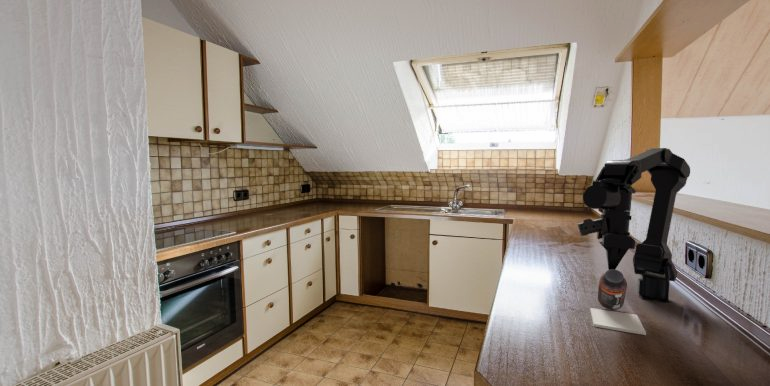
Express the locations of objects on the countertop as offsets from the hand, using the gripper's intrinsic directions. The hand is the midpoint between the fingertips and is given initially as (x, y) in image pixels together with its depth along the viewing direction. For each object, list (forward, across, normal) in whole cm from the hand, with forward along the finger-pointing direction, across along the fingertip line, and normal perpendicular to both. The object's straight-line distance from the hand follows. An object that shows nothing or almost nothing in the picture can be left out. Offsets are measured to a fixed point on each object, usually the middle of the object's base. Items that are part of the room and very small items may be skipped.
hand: (611, 271), depth 93 cm
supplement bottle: (+8, -4, +1) cm, 9 cm away
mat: (+11, +6, +1) cm, 12 cm away
